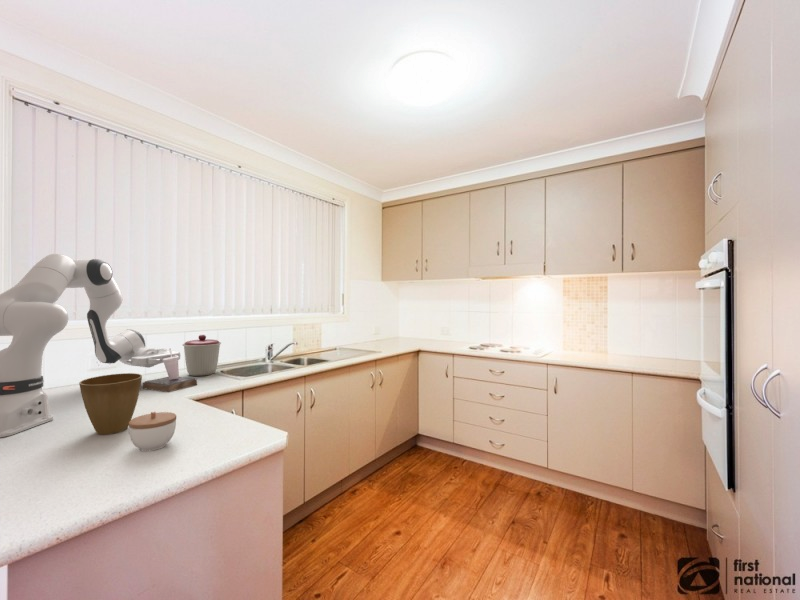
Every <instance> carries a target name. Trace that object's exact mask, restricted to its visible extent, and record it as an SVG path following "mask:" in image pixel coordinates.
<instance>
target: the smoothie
mask: <svg viewBox="0 0 800 600" xmlns="http://www.w3.org/2000/svg"><path fill="white" fill-rule="evenodd" d="M168 349H169V350H170V356H171V357H170V358H165V359H163V362H164V363H163V364H164V368H165V370H166V374H167V377H169V379H170V380H172V379H176V378H179V377H180V376H179V375H180V371H179V360H180V359H179V357H178V356H175V357H172V353H171V351H172V350H171V349H172V348H168ZM178 359H179V360H178Z"/></svg>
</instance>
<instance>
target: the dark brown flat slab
mask: <svg viewBox="0 0 800 600" xmlns="http://www.w3.org/2000/svg"><path fill="white" fill-rule="evenodd" d="M197 385H198V380H197V378H194V377H186V376H179V378H176V379H172V380H170V379H169V376H165V377H160V378H155V379H149V380H147V381H144V382H142V389H144V388H147V389H146V390H151V389H153V391H158V390H160V391H159V392H165V391H166V393H167V392H168V393H169V392H173V391H177V390H181V389H186V388H189V387H194V386H197Z"/></svg>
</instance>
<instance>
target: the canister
mask: <svg viewBox="0 0 800 600" xmlns="http://www.w3.org/2000/svg"><path fill="white" fill-rule="evenodd" d="M206 338H207V336H206V335H205V334H199V335H198V339H194V340H193V339H192V340H188V341H185V342H184V343H183V344H182V346H183V353H184V358H185V367H186V371H187V374H188V375H189V376H193V377H203V376H209V375H210V376H211V375H212V374H213V375H214V373H215V372H216V371H217V368H218V364H219V362H218V361H219V357H220V355H219V354H220V346H221V344H222V342H221V341H219V340H217V339H208V338H207V339H206Z"/></svg>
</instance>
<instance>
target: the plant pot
mask: <svg viewBox="0 0 800 600" xmlns="http://www.w3.org/2000/svg"><path fill="white" fill-rule="evenodd" d="M142 378H143V374H140V373H135V372H134V373H133V372H129V373H123V372H122V373H114V374H113V373H112V374H104V375H99V376H94V377H90V378H86V379H84V380H81V381H79V383H78V385H79V389H80V393H81V397H82V401H83V406H84V408H85V410H86V411H85V412H86V413H87V416H88V418H89V420H90V423H91V425H92V426H93V429H94V430H95V432H96V434H98V435H100V436H105V435H106V436H108V435H114V434H119V433H121V432H123V431H125V430H127V429H128V428H129V421H130V420H132V419H133V416H134V413H135V410H136V406H137V403H138V399H139V395H140V390H141V387H142V386H141V384H142V380H143V379H142Z"/></svg>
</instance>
